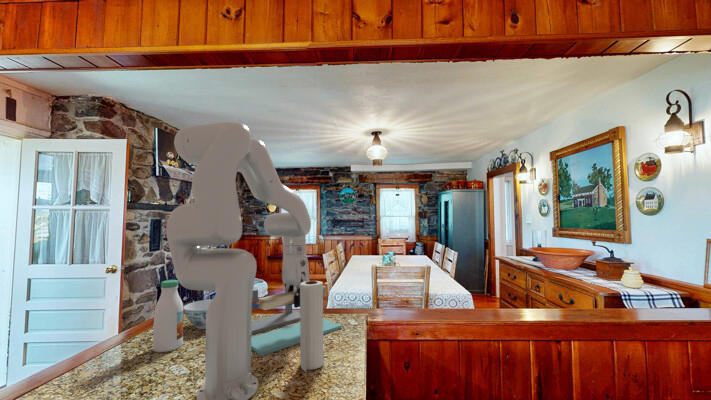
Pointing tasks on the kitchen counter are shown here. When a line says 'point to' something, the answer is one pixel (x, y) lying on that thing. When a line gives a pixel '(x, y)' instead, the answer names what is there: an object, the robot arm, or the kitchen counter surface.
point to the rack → (274, 317)
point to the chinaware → (197, 312)
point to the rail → (279, 300)
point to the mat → (284, 338)
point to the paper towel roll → (311, 325)
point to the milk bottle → (168, 319)
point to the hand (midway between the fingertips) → (294, 304)
